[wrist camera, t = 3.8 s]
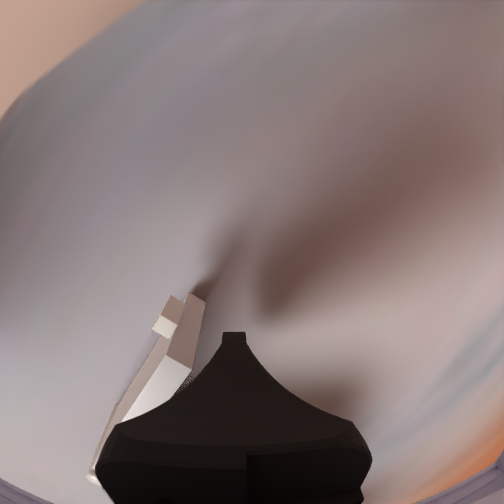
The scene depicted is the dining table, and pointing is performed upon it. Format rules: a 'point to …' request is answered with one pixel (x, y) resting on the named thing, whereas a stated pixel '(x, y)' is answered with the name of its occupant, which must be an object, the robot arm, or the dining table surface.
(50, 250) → the dining table surface
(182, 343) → the side door
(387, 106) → the dining table surface
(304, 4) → the dining table surface
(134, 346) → the dining table surface
